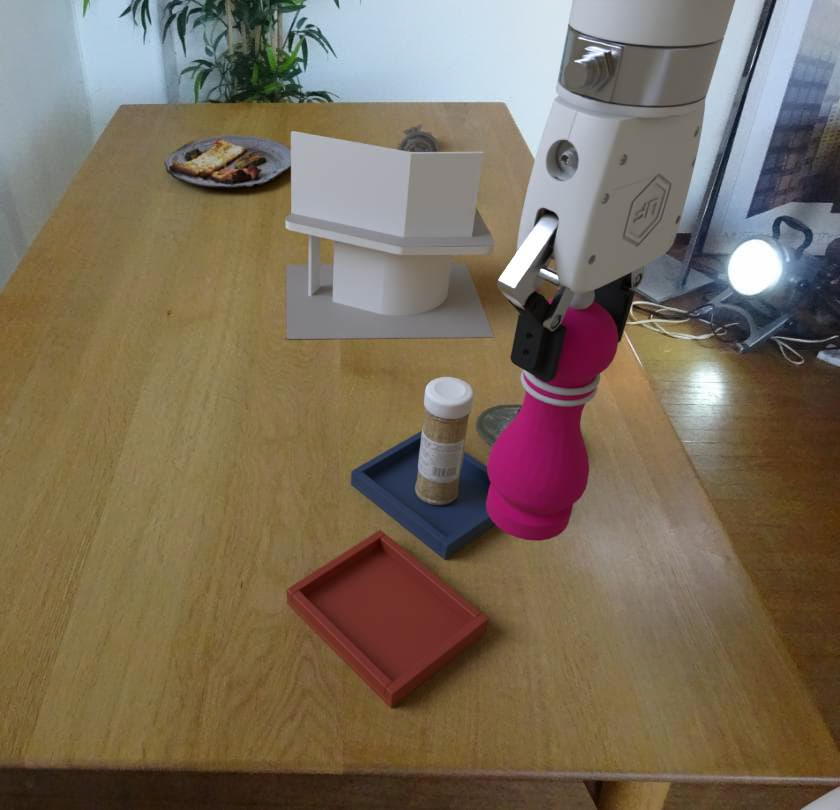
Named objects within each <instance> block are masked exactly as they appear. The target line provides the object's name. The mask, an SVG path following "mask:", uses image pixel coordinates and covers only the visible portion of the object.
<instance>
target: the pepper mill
mask: <svg viewBox="0 0 840 810" xmlns="http://www.w3.org/2000/svg"><path fill="white" fill-rule="evenodd" d="M594 297H595V293H594V290H593V291H590V292H587V293H583V294H577V293H575V295H574V297H573V299H572V301H571V303H570V305H569V308H568V310H567V312H566V314H565V316H564V318H563V320H562V323H561V324H562V325H563V326H565V327H567V331H566V335H565V340H564V344H563V348H562V352H561V356H560V360H559V365H558V369H557V373H556V377H555V378H554V379H553V380H551V381H550V382H544V381H542V380H540V379H539V378H537V377H535V376H534V375H532V374H530V373H529V372H527V371H525V370H523V369H522V371H521V374H520V383H521V386H522V387H523V389H524V398H523V402H522V404H521V405H522V407H521V409H520V411H519V413H518V414H517V416H516V417H515V418H514V420H513V421H512V422H511V423H510V424H509V425H508V426H507V427H506V428H505V429H504V430H503V432H502V433H501V434H500V435H499V437H498V438H497V440H496V442H495V443H494V445H493V447H492V446H491V450H490V452H489V455H488V458H487V463H486V466H487V472H488V477H489V480H490V482H491V484H490V486H489V491H488V496H487V502H486V508H487V512H488V515H489V516H490V518H491V520H492V521H493V522H494V523H495V524H496V525H495V526H496V527H497V528H498V529H500V530H501V531H503V532H505V533H506V534H507V535H509V536H512V537H515V538H517V539H521V540H525V541H535V542H536V541H537V542H538V541H539V542H541V541H546V540H547V541H548V540H551V539H553V538H556V537H557V536H559V535H561V534H562V533H563V532H564V531H565V530H566V529H567V527H568V525H569V524H570V523H569V522H570V518H571V515H572V512H573V508H574V504H575V503H576V502H578V501H579V500H580V499H581V498H582V496H583V495H584V493H585V491H586V489H587V486H588V481H589V474H590V464H589V463H590V462H589V454H588V451H587V446H586V443H585V441H584V437H583V435H582V429H581V422H582V421H581V420H582V416H583V415H582V414H583V410H584V408H585V406H586V404H587V403H589V402H591V401H592V400H593V399H594V398H595V396H596V395H597V392H598V385H599V384H600V381H601V373H603V372H604V371H606V370H607V369H608V368H609V367H610V365H611V364H612V362H613V361H614V360H615V357H616V354H617V351H618V345H619V343H618V332H617V326H616V324H615V322H614V320H613V318H612V316H611V315H610V314H609V313H608V312H607V311H606V310H605V309H604V308H603V307H601V306H600V305H599V304H597V303H595V302H593V301H594ZM552 300H553V298H550V299H547V301H548V302H549V303H550V305H551V302H552Z"/></svg>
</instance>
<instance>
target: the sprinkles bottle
mask: <svg viewBox="0 0 840 810" xmlns="http://www.w3.org/2000/svg"><path fill="white" fill-rule="evenodd" d="M474 393H475V392H474V389H473V388H472V386H471V385H470V384H469V383H468V382H466V381H464V380H463V379H460V378H457V377H452V376H442V377H437V378H435V379H432V380H431V381H430V382H429V383H427V384H426V387H425V390H424V395H423V396H424V397H423V405H424V414H423V422H422V423H423V424H422V428H421V431H422V435H421V444H420V453H419V461H418V475H417V482H416V485H415V492H416V494H417V496H418V497H419V498H420V499H421V500H423V501H424V502H426V503H428V504H431V505H446V504H449V503H451V502H453V501H454V500H455V499H456V498H457V496H458V484H459V477H460V472H461V469H462V463H463V457H464V451H465V450H466V448H465V445H466V440H467V439H466V438H467V431H468V424H469V417H470V414H471V412H472V409H473V404H474V396H475V395H474Z"/></svg>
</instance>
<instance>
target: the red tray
mask: <svg viewBox="0 0 840 810" xmlns="http://www.w3.org/2000/svg"><path fill="white" fill-rule="evenodd" d="M286 604H287V605H288V606H289V607H290V608H291V609H292V610H293V611H294V613H296V614H297V615H298V616H299V617H300V618H301V619H302V620H303V621H304V622H305V623H306V624H307V625H308V626H309V628H311V629H312V630H313V631H314V632H315V634H316V635H318V636H319V637H320V639H322V641H324V642H325V644H326V645H328V646H329V647H330V648H331V649H332V650H333V651H334V653H336V655H337V656H339V657H340V658H341V660H342V661H344V662H345V664H346V665H348V666H349V668H351V670H353V671H354V672H355V674H356V675H357V676H359V678H361V680H362V681H364V683H365V684H366V685H367V686H368V687H369V688H370V689H371V690H372V691H373V692H374V693H375V694H376V695H377V696H378V697H379V698H380V699H381V700H382V701H383V702H384V703H385V704H386V705H387V706H388V707H389V708H391V709H392V708H394V706H395V705H397V704H398V703H399V702H400V701H402V700H403V699H404V698H405V697H407V696H408V695H409V694H411V693H412V692H413V691H414V690H415V689H417V688H418V687H419V686H421V685H422V684H423V683H424V682H426V681H427V680H428V679H429V678H431V677H432V676H433V675H434V674H436V673H437V672H438V671H439V670H441V669H442V668H443V667H444V666H446V665H447V664H448V663H450V662H451V661H452V660H454V659H455V658H456V657H457V656H459V654H461V653H462V652H463V651H465V650H466V649H467V648H468V647H469V646H471V645H472V644H473V643H475V641H477V640H478V639H479V638H481V637H482V636H484V635H485V634H486V633H487V628H488V623H489V617H487V616H486V615H485V614H484V613H483V612H481V611H480V610H479V609H477V607H475V606H474V605H473V604H471V603H470V602H469V601H468V600H467V599H465V598H464V597H463V596H462V595H461V594H459V593H458V592H457V591H456V590H454V589H453V588H452V587H451V586H449V584H447V583H446V582H445V581H443V580H442V579H441V578H440V577H439V576H437V575H436V574H435V573H434V572H433V571H432V570H430V569H429V568H428V567H426V566H425V565H424V564H423V563H422V562H421V561H419V560H418V559H417V558H416V557H414V556H413V554H411V553H409V551H407V550H406V549H404V548H403V547H402V546H401V545H400V544H399V543H398V542H396V541H395V540H393V539H392V538H391V537H390V536H389V535H388V534H386V532H384V531H383V530H382V529H379V530H377V531H375V532H374V533H373V534H371V535H369V536H367V537H366V538H365V539H363V540H361V541H360V542H358V543H357V544H355V545H354V546H352V547H350V548H349V549H347V550H346V551H344V552H342V553H341V554H340V555H338V556H336V557H335V558H333V559H332V560H330V561H329V562H327V563H326V564H324V565H322V566H321V567H319V568H318V569H316V570H315V571H313V572H311V573H309V574H308V575H307V576H305V577H304V578H302V579H300V580H299V581H297V582H295V583H294V584H293V585H291V586H289V587H287V589H286Z"/></svg>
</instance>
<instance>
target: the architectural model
mask: <svg viewBox="0 0 840 810" xmlns="http://www.w3.org/2000/svg"><path fill="white" fill-rule="evenodd" d="M290 150H291V165H290V188H291V189H290V201H291V202H290V204H291V205H290V210H291V212H290V213H289V214H288V215H287V216H286V217H285V228H286V230H288V231H291V232H295V233H301V234H305V235H308V256H307V257H308V262H307V263H308V264H307V263H306V264H305V263H304V264H303V263H302V264H286V265H285V268H286V269H285V271H286V272H285V278H286V279H285V283H286V285H285V288H286V291H285V292H286V296H285V297H286V300H285V302H286V303H285V304H286V305H285V306H286V309H285V310H286V311H285V312H286V315H285V316H286V319H285V321H286V340H335V339H336V340H337V339H338V340H339V339H340V340H342V339H343V340H345V339H346V340H347V339H447V338H448V339H449V338H450V339H451V338H453V339H454V338H458V339H460V338H462V339H463V338H464V339H465V338H495V335H494V332H493V330H492V327H491V325H490V322H489V320H488V317H487V315H486V311H485V309H484V307H483V304H482V301H481V298H480V296H479V292H478V290H477V288H476V285H475V282H474V280H473V278H472V274H471V272H470V269H469V267H468V264H467V263H466V262H457V263H456V262H453V256H454V255H455V256H457V255H458V256H461V255H462V256H465V255H467V256H468V255H469V256H470V255H471V256H472V255H473V256H475V255H480V256H481V255H482V256H483V255H490V254H493V253H494V250H495V245H496V241H495V238H494V237H493V235H492V233H491V231H490V230H489V227H488V225H487V224H486V222H485V220H484V219H483V217H482V214H481V213H480V212H479V209H478V208H477V204H478V203H477V202H478V196H479V189H480V182H481V175H482V167H483V161H484V155H485V152H484V151H440V152H430V151H426V152H409V150H408V151H402V150H398V148H397V149H396V148H391V147H390V148H389V147H386V146H379V145H375V144H368V143H363V142H359V141H351V140H345V139H342V138H341V139H340V138H335V137H329V136H323V135H319V134H312V133H307V132H300V131H295V130H292V131H291V132H290ZM322 238H323V239H327V240H331V241H333V263H327V264H326V263H321V248H322V247H321V245H322Z"/></svg>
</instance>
